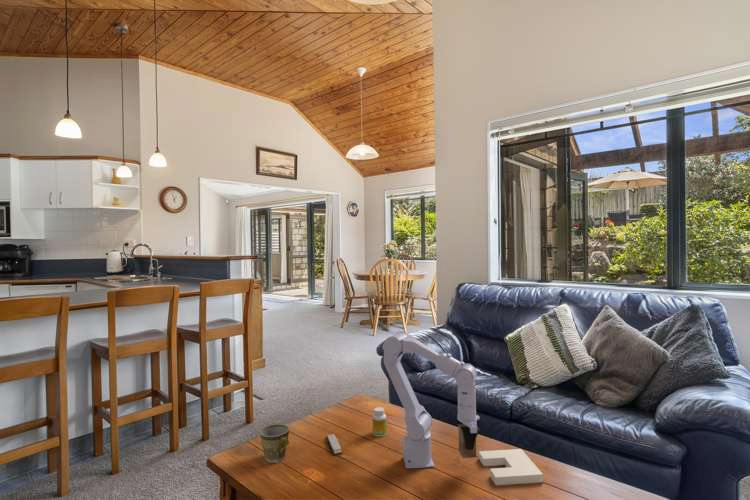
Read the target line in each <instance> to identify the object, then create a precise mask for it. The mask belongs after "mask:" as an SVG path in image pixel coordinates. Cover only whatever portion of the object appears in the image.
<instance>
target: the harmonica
mask: <svg viewBox="0 0 750 500" xmlns="http://www.w3.org/2000/svg"><path fill="white" fill-rule="evenodd" d="M325 438H327V439H328V441H329V442H328V441H327V443H328V445H330V446H329V448H330V451H331V450H332V451H331V453H332V454H333V456H334V457H336V456H335V455H337V456H342V455H343V451H342V449H341V444H340V443H339V440H338V439H337V437H336V435H335V434H328V435H325ZM327 439H326V440H327ZM341 454H342V455H341Z"/></svg>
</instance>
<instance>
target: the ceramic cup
mask: <svg viewBox="0 0 750 500" xmlns="http://www.w3.org/2000/svg"><path fill="white" fill-rule="evenodd" d="M289 434H290V427H289V425H287V424H284V423H273V424H268V425H265V426H264V427H262V428H261V429H260V431H259V436H260V441H261V445H262V449H263V450H262V451H263V455H264V460H265V461H266V462H267V463H269V464H271V463H272V464H273V463H274V464H275V463H277V462H278V463H280V462H282V461H284V460H285V457H286V453H287V452H286V451H287V447H288V446H289V444H290V441H289Z"/></svg>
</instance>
